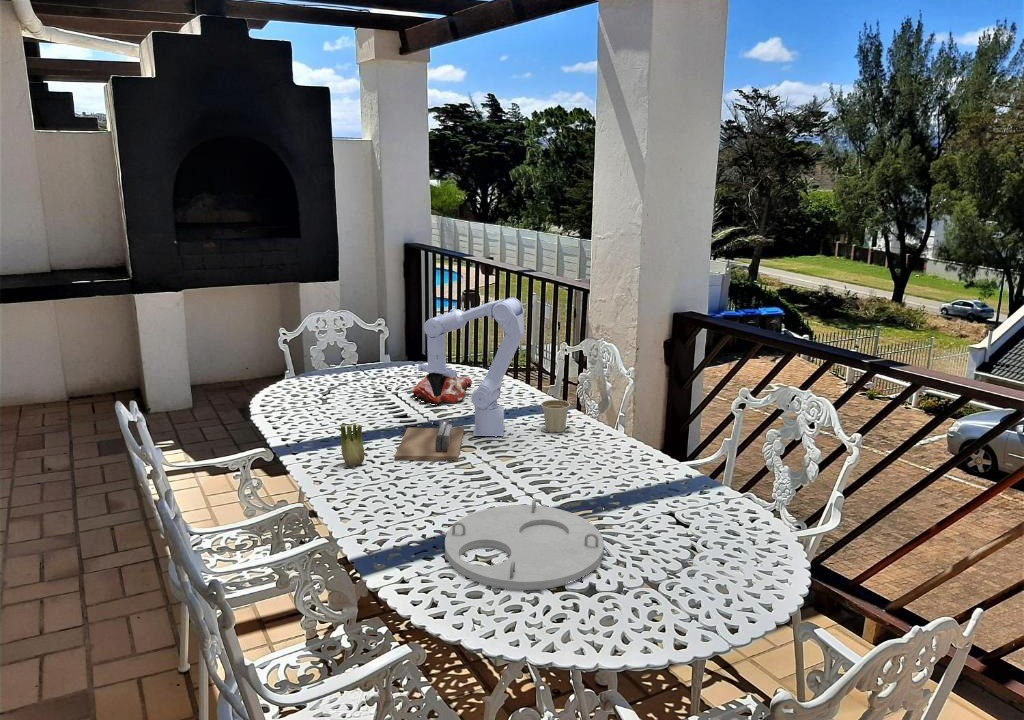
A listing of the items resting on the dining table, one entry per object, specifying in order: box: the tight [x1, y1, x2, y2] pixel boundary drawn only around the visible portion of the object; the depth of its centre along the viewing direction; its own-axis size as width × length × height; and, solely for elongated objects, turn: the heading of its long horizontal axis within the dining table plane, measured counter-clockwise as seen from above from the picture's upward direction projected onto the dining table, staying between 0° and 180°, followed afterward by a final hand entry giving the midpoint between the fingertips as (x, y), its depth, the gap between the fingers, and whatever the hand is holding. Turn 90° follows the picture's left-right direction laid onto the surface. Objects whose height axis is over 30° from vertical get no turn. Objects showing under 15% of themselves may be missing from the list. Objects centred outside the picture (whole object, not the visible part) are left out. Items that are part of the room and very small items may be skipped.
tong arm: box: [436, 419, 450, 452], centre depth 220 cm, size 19×3×3 cm, turn 0°
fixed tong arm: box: [442, 424, 453, 452], centre depth 218 cm, size 15×2×3 cm, turn 179°
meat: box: [411, 368, 473, 405], centre depth 267 cm, size 21×21×10 cm
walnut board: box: [394, 427, 465, 462], centre depth 220 cm, size 18×24×2 cm
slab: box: [444, 498, 605, 591], centre depth 160 cm, size 35×35×5 cm
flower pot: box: [540, 399, 571, 433], centre depth 234 cm, size 9×9×9 cm
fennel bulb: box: [339, 423, 365, 467], centre depth 204 cm, size 6×5×12 cm
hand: (437, 395), depth 235 cm, fingers closed
